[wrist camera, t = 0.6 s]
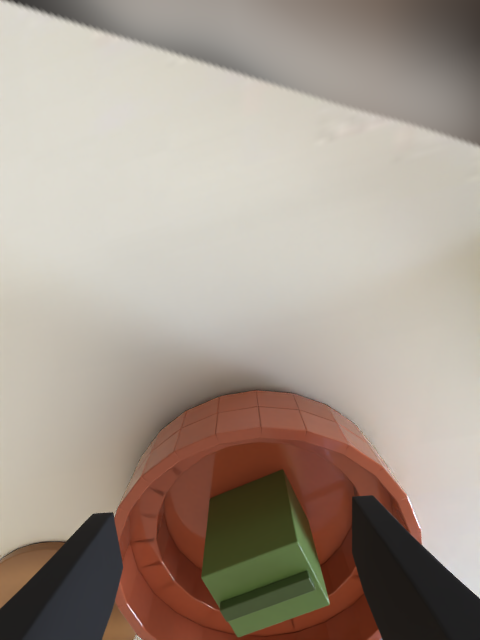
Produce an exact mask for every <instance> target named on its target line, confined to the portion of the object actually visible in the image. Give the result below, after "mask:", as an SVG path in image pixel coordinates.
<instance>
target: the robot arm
mask: <svg viewBox="0 0 480 640" xmlns="http://www.w3.org/2000/svg"><path fill="white" fill-rule="evenodd" d="M352 555H353V558H354V562H355V565H356V568H357V572H358V575H359V578H360V582H361V585H362V588H363V591H364V594H365V597H366V600H367V602H368V605H369V607H370V610H371V612H372V615H373V617H374V620H375V622H376V625H377V627H378V630H379V632H380V635H381V637H382V638H381V639H380V640H480V598H478V597H477V596H476V595H475V594H474V593H473V592H472V591H471V590H469V589H468V588H467V587H466V586H465V585H464V584H463V583H462V582H460V581H459V580H458V579H457V578H456V577H455V576H454V575H453V574H452V573H451V572H450V571H448V570H447V569H446V568H445V567H444V566H443V565H442V564H441V563H440V562H439V561H438V560H437V559H436V558H435V557H434V556H433V555H432V554H431V553H430V552H428V551H427V550H426V549H425V548H424V547H423V546H422V545H421V544H420V543H419V542H418V541H417V540H416V539H415V538H414V537H413V536H412V535H411V534H410V533H409V532H408V531H407V530H406V529H405V528H404V527H403V526H402V525H401V524H400V523H399V522H398V521H397V520H396V519H395V518H394V516H393V515H392V514H391V513H390V512H389V511H388V510H387V509H386V508H385V507H384V506H383V505H382V504H381V503H380V502H379V501H378V500H377V499H376V498H375V497H374V496H373V495H368V496H353V497H352ZM122 571H123V563H122V557H121V552H120V547H119V541H118V536H117V531H116V526H115V520H114V515H113V512H112V513H97V514H92V515H91V516H90V517H89V518H88V519H87V520H86V521H85V523H84V524H83V525H82V526H81V527H80V528H79V529H78V530H77V531H76V532H75V533H74V534H73V535H72V536H71V537H70V538H69V539H68V541H67V542H66V543H65V544H64V545H63V546H62V547H61V548H60V549H59V550H58V551H57V552H56V553H55V554H54V555H53V556H52V557H51V558H50V559H49V561H48V562H47V563H46V564H45V565H44V566H43V567H42V568H41V569H40V570H39V571H38V572H37V573H36V574H35V575H34V576H33V577H32V578H31V579H30V580H29V581H28V582H27V583H26V584H25V585H24V586H23V587H22V588H21V589H20V590H19V591H18V592H17V593H16V594H15V595H14V596H13V597H12V598H11V599H10V600H9V601H8V602H7V603H6V604H5V605H4V606H3V607H2V608H0V640H102V638H103V635H104V632H105V630H106V627H107V624H108V621H109V618H110V615H111V613H112V610H113V606H114V602H115V598H116V595H117V591H118V587H119V583H120V579H121V575H122Z"/></svg>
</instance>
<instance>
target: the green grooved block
mask: <svg viewBox="0 0 480 640" xmlns="http://www.w3.org/2000/svg"><path fill="white" fill-rule="evenodd" d="M201 578H202V580H203V582H204V583H205V585H206V587H207V588H208V590H209V592H210V593H211V595H212V596H213V598H214V600H215V601H216V603H217V605H218V606H219V608H220V612H221V614H222V615H223V617H224V619H225V620H226V622H228V623H229V624H230V626H231V627H232V629H233V631H234V632H235V634H236V636H237V637H241V636H244V635H247V634H250V633H252V632H255V631H258V630H261V629H264V628H266V627H269V626H272V625H275V624H278V623H280V622H283V621H286V620H289V619H292V618H294V617H297V616H300V615H303V614H306V613H308V612H311V611H314V610H317V609H320V608H322V607H325V606H328V605H330V602H329V598H328V594H327V590H326V587H325V583H324V579H323V575H322V571H321V567H320V563H319V559H318V556H317V552H316V548H315V544H314V540H313V536H312V532H311V529H310V525H309V521H308V519H307V517H306V515H305V513H304V511H303V509H302V507H301V504H300V502H299V500H298V498H297V496H296V494H295V492H294V490H293V488H292V486H291V484H290V482H289V480H288V478H287V476H286V474H285V472H284V470H283V469H282V470H279V471H277V472H274V473H272V474H269V475H267V476H264V477H262V478H259V479H257V480H254V481H252V482H249V483H247V484H244V485H242V486H239V487H237V488H234V489H232V490H229V491H227V492H224V493H222V494H220V495H217V496H215V497H212V498H210V502H209V511H208V520H207V529H206V538H205V547H204V556H203V565H202V574H201Z"/></svg>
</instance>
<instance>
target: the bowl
mask: <svg viewBox="0 0 480 640" xmlns="http://www.w3.org/2000/svg"><path fill="white" fill-rule="evenodd" d="M282 469H283V470H284V472H285V474H286V476H287V478H288V480H289V482H290V484H291V486H292V488H293V490H294V492H295V494H296V496H297V498H298V500H299V502H300V504H301V507H302V509H303V511H304V513H305V515H306V517H307V519H308V521H309V525H310V529H311V532H312V536H313V540H314V544H315V548H316V552H317V556H318V559H319V563H320V567H321V571H322V575H323V579H324V583H325V587H326V590H327V594H328V598H329V602H330V605H328V606H325V607H322V608H320V609H317V610H314V611H311V612H308V613H306V614H303V615H300V616H297V617H294V618H292V619H289V620H286V621H283V622H280V623H278V624H275V625H272V626H269V627H266V628H264V629H261V630H258V631H255V632H252V633H250V634H247V635H244V636H241V637H237V636H236V634H235V632H234V631H233V629H232V627H231V626H230V624H229V623H228V622H226V620H225V619H224V617H223V615H222V614H221V612H220V608H219V606H218V605H217V603H216V601H215V600H214V598H213V596H212V595H211V593H210V592H209V590H208V588H207V587H206V585H205V583H204V582H203V580H202V578H201V574H202V565H203V556H204V547H205V538H206V529H207V520H208V511H209V502H210V498H212V497H215V496H217V495H220V494H222V493H224V492H227V491H229V490H232V489H234V488H237V487H239V486H242V485H244V484H247V483H249V482H252V481H254V480H257V479H259V478H262V477H264V476H267V475H269V474H272V473H274V472H277V471H279V470H282ZM368 495H373V496H374V497H375V498H376V499H377V500H378V501H379V502H380V503H381V504H382V505H383V506H384V507H385V508H386V509H387V510H388V511H389V512H390V513H391V514H392V515H393V516H394V518H395V519H396V520H397V521H398V522H399V523H400V524H401V525H402V526H403V527H404V528H405V529H406V530H407V531H408V532H409V533H410V534H411V535H412V536H413V537H414V538H415V539H416V540H417V541H418V542H419V543H420V544H421V545H422V542H421V529H420V525H419V523H418V521H417V518H416V516H415V513H414V511H413V508H412V506H411V503H410V501H409V498H408V496H407V494H406V493H405V491H404V490H403V489H402V487H401V486H400V484H399V483H398V481H397V480H396V478H395V477H394V475H393V474H392V472H391V471H390V469H389V468H388V467H387V465H386V464H385V462H384V461H383V459H382V458H381V456H380V455H379V453H378V452H377V450H376V449H375V448H374V446H373V445H372V444H371V443H370V441H369V440H368V439H367V438H366V437H365V435H364V434H363V433H362V432H361V431H360V429H359V428H358V427H357V426H356V425H355V424H354V423H353V422H351V421H350V420H348V419H347V418H345V417H344V416H342V415H341V414H339V413H338V412H337V411H335V410H334V409H332V408H331V407H329V406H328V405H325V404H323V403H320V402H317V401H314V400H311V399H308V398H305V397H302V396H299V395H296V394H293V393H284V392H272V391H260V390H256V391H248V392H242V393H236V394H230V395H224V396H220V397H217V398H215V399H212V400H210V401H208V402H205V403H203V404H201V405H198V406H196V407H194V408H191V409H189V410H187V411H185V412H184V413H182V414H181V415H180V416H179V417H177V418H176V419H175V420H174V421H172V422H171V423H170V424H168V425H167V426H166V427H165V428H163V429H162V430H161V431H160V432H159V433H158V434H157V436H156V437H155V439H154V440H153V441H152V443H151V444H150V445H149V447H148V448H147V450H146V451H145V452H144V454H143V455H142V456H141V458H140V460H139V462H138V465H137V467H136V469H135V471H134V473H133V476H132V478H131V480H130V482H129V484H128V486H127V489H126V491H125V493H124V495H123V497H122V500H121V502H120V504H119V506H118V508H117V511H116V514H115V517H114V520H115V526H116V531H117V536H118V541H119V547H120V552H121V557H122V563H123V571H122V575H121V579H120V583H119V587H118V591H117V595H116V598H115V602H116V605H117V606H118V609H119V610H120V612H121V613H122V614H123V616H124V617H125V619H126V620H127V622H128V623H129V624H130V626H131V627H132V629H133V630H134V631H135V633H136V634H137V635H138V636H139V637H140V638H141V639H143V640H380V639H381V638H382V637H381V635H380V632H379V630H378V627H377V625H376V622H375V620H374V617H373V615H372V612H371V610H370V607H369V605H368V602H367V600H366V597H365V594H364V591H363V588H362V585H361V582H360V578H359V575H358V572H357V568H356V565H355V562H354V558H353V555H352V497H353V496H368Z"/></svg>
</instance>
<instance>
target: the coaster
mask: <svg viewBox="0 0 480 640" xmlns="http://www.w3.org/2000/svg"><path fill="white" fill-rule="evenodd" d="M64 544H65V543H64V542H45V543H37V544H32V545H28V546H25V547H22V548H20V549H18V550H15V551H13V552H11V553H10V554H8V555H7V556H5V557H4V558H3V559H1V560H0V608H2V607H3V606H4V605H5V604H6V603H7V602H8V601H9V600H10V599H11V598H12V597H13V596H14V595H15V594H16V593H17V592H18V591H19V590H20V589H21V588H22V587H23V586H24V585H25V584H26V583H27V582H28V581H29V580H30V579H31V578H32V577H33V576H34V575H35V574H36V573H37V572H38V571H39V570H40V569H41V568H42V567H43V566H44V565H45V564H46V563H47V562H48V561H49V559H50V558H51V557H52V556H53V555H54V554H55V553H56V552H57V551H58V550H59V549H60V548H61V547H62V546H63V545H64ZM135 636H136V633H135V631H134V630H133V629H132V627H131V626H130V624H129V623H128V622H127V620H126V619H125V617H124V616H123V614H122V613H121V612H120V610H119V609H118V606H117V605H116V602H114V606H113V610H112V613H111V615H110V618H109V621H108V624H107V627H106V630H105V632H104V635H103V638H102V640H134V638H135Z"/></svg>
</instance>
